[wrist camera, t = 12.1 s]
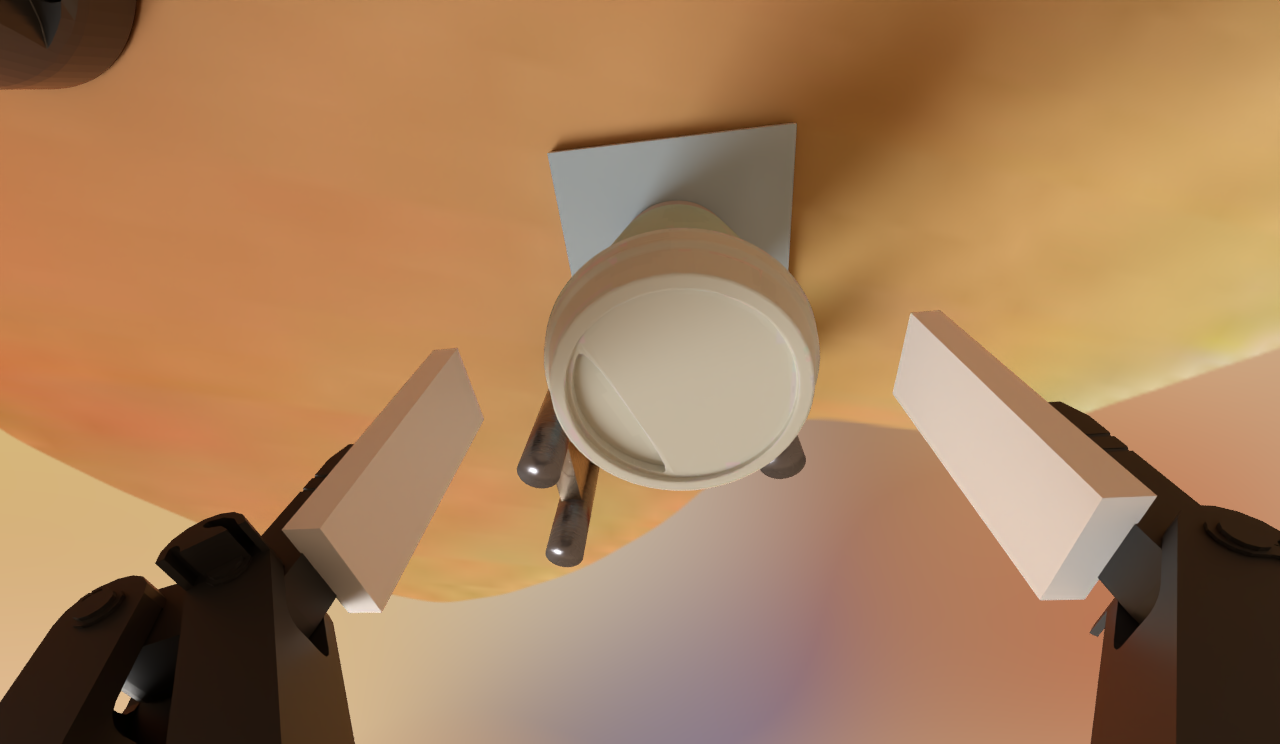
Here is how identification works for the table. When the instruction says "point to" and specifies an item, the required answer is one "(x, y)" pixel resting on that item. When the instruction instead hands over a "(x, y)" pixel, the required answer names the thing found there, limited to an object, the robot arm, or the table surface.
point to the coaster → (679, 186)
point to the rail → (589, 481)
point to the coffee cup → (681, 353)
